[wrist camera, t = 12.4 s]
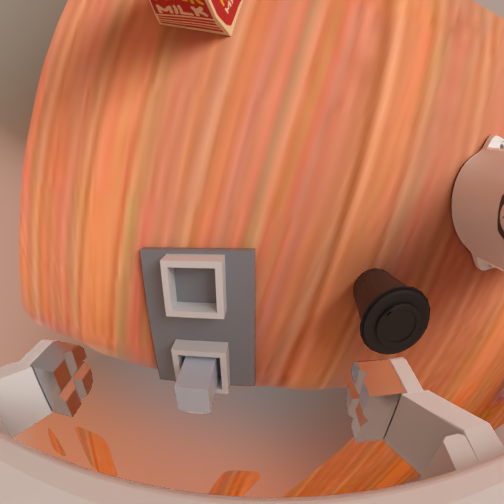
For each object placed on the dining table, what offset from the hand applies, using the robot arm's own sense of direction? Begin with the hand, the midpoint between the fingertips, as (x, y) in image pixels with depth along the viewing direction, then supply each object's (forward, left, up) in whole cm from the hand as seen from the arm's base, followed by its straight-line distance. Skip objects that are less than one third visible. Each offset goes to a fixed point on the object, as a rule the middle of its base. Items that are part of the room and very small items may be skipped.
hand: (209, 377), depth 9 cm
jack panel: (+7, +15, -29) cm, 33 cm away
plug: (+7, +21, -28) cm, 36 cm away
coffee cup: (-15, +10, -29) cm, 34 cm away
